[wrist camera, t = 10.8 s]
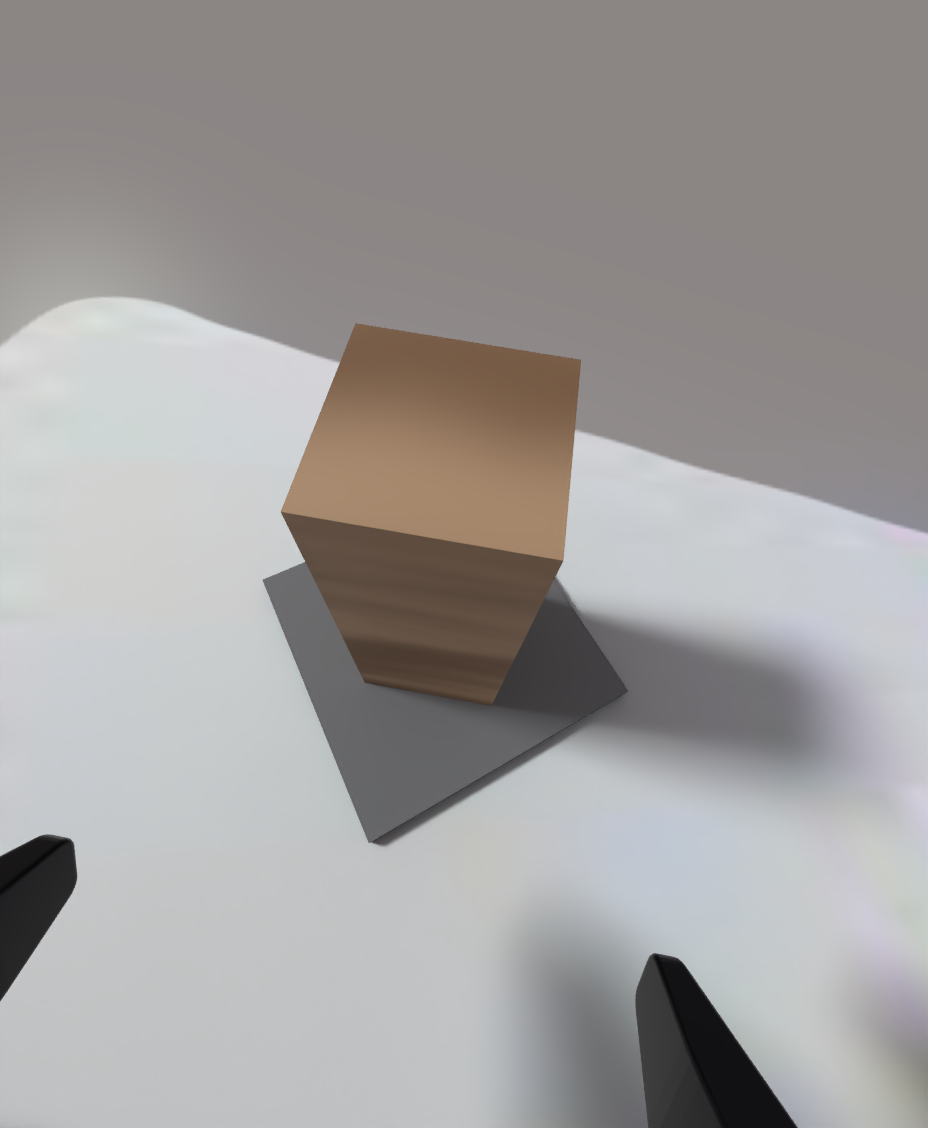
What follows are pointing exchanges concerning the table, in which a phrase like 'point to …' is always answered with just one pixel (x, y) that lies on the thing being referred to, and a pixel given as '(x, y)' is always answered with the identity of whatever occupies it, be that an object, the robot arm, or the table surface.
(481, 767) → the mat
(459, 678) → the walnut block
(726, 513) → the table surface
